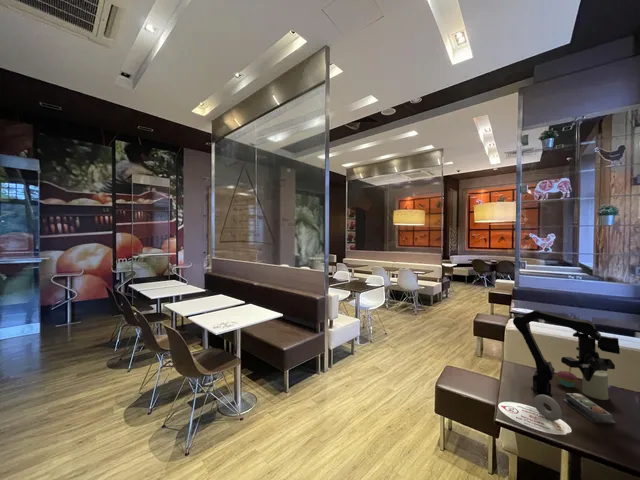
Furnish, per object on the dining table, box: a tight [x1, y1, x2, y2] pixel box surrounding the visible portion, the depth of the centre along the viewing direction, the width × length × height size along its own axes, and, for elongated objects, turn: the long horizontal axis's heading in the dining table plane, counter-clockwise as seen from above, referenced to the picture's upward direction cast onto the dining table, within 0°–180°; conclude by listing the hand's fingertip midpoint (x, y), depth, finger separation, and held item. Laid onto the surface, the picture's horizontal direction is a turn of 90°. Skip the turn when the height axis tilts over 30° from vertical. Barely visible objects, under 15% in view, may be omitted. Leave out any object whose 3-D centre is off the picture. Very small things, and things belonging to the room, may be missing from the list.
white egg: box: [573, 392, 584, 400], centre depth 125 cm, size 4×4×4 cm
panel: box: [562, 392, 617, 425], centre depth 120 cm, size 9×16×4 cm, turn 173°
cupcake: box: [555, 367, 579, 388], centre depth 142 cm, size 9×8×12 cm
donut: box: [533, 394, 563, 422], centre depth 116 cm, size 10×4×10 cm, turn 23°
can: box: [581, 371, 610, 401], centre depth 133 cm, size 9×9×12 cm
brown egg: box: [592, 406, 605, 413], centre depth 115 cm, size 4×4×4 cm
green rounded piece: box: [582, 399, 594, 406], centre depth 120 cm, size 4×4×4 cm
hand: (587, 380), depth 124 cm, fingers closed
